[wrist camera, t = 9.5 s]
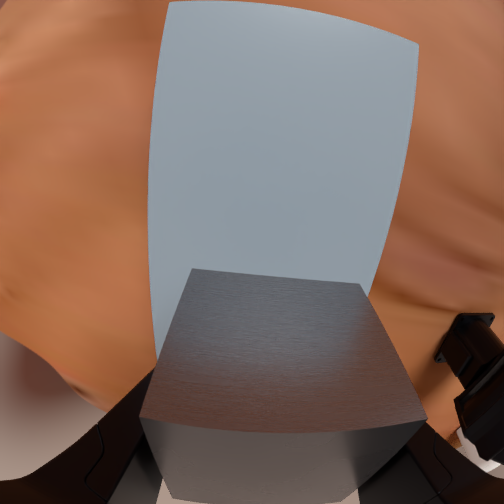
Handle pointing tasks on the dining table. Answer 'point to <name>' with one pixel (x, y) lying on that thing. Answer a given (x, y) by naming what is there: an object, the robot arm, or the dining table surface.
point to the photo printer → (475, 454)
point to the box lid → (273, 146)
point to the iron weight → (275, 392)
